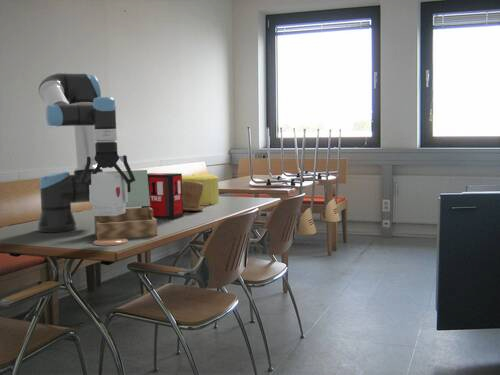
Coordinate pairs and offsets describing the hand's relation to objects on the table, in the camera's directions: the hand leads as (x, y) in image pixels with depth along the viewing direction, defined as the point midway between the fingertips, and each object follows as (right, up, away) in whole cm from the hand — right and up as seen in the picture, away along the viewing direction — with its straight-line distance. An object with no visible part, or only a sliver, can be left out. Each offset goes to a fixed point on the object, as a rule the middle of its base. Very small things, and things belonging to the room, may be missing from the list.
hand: (108, 202), depth 209 cm
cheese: (+20, -3, +112) cm, 113 cm away
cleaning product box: (+10, -9, +60) cm, 61 cm away
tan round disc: (0, -14, +2) cm, 14 cm away
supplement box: (0, -4, 0) cm, 5 cm away
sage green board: (-1, +5, +25) cm, 26 cm away
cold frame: (+2, -13, +17) cm, 22 cm away
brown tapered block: (+20, -6, +80) cm, 83 cm away
